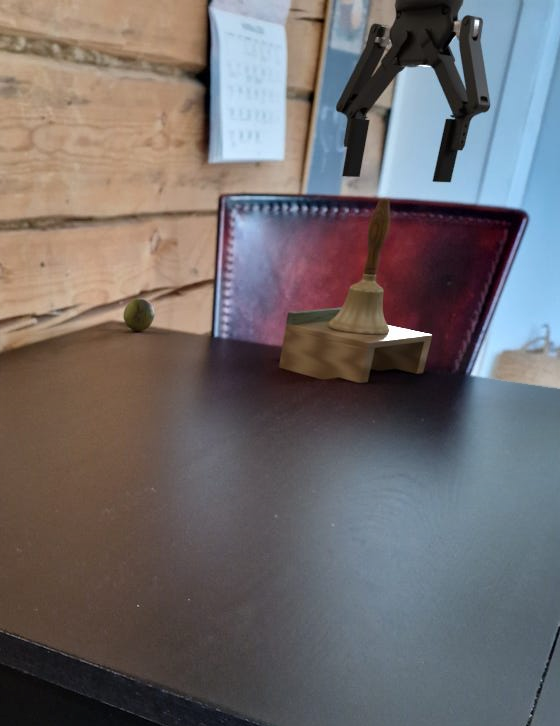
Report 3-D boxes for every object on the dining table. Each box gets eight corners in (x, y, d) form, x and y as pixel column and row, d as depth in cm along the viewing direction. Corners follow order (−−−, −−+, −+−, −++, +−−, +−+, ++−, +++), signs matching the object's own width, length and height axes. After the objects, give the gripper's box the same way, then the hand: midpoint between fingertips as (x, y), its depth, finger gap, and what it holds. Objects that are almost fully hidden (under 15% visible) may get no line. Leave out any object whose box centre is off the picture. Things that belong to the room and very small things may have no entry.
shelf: (421, 379, 120) (435, 323, 116) (358, 390, 112) (371, 330, 108) (341, 359, 129) (352, 306, 125) (278, 367, 122) (287, 312, 118)
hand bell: (397, 336, 114) (427, 202, 106) (335, 333, 114) (361, 198, 106) (379, 325, 121) (406, 198, 113) (321, 321, 121) (344, 195, 113)
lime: (118, 329, 141) (120, 297, 138) (141, 328, 143) (144, 296, 141) (134, 334, 138) (137, 302, 135) (158, 332, 140) (161, 300, 138)
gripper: (327, -24, 105) (299, 174, 115) (521, -51, 87) (466, 184, 98) (366, -15, 109) (335, 175, 119) (558, -40, 91) (501, 185, 102)
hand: (394, 179), depth 109 cm, fingers open, 13 cm apart
